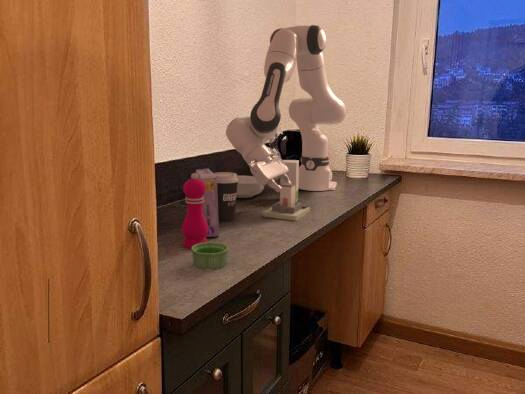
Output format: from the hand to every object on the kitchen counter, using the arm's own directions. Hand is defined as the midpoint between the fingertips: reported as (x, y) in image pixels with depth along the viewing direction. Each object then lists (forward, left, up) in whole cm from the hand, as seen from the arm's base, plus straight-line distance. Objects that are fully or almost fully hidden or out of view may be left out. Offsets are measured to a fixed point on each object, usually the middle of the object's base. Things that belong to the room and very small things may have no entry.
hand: (285, 188), depth 167 cm
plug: (0, +1, -7) cm, 7 cm away
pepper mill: (+44, -9, -9) cm, 46 cm away
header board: (0, +1, -9) cm, 9 cm away
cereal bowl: (-19, -25, -9) cm, 33 cm away
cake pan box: (+29, -14, -9) cm, 34 cm away
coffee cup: (+16, -15, -9) cm, 24 cm away
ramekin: (+55, +2, -9) cm, 56 cm away
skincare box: (-20, -6, -9) cm, 23 cm away
